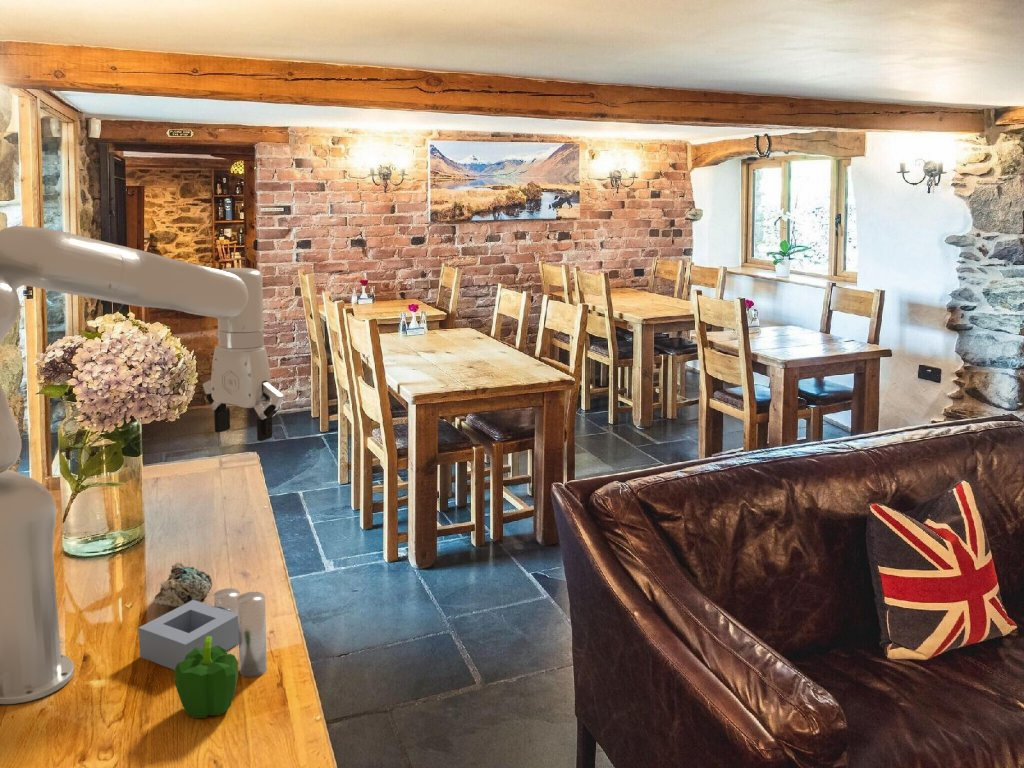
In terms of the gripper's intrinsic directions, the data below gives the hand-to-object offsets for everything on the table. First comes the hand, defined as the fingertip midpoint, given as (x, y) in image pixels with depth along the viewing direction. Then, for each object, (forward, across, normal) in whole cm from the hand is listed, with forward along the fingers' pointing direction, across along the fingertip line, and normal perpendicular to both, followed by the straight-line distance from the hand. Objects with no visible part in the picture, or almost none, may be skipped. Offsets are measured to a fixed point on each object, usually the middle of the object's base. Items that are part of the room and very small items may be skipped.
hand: (243, 435), depth 156 cm
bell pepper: (+29, +22, -32) cm, 49 cm away
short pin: (+29, +8, -13) cm, 33 cm away
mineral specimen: (+29, -5, -10) cm, 31 cm away
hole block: (+29, +8, -22) cm, 37 cm away
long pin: (+29, +21, -22) cm, 42 cm away
